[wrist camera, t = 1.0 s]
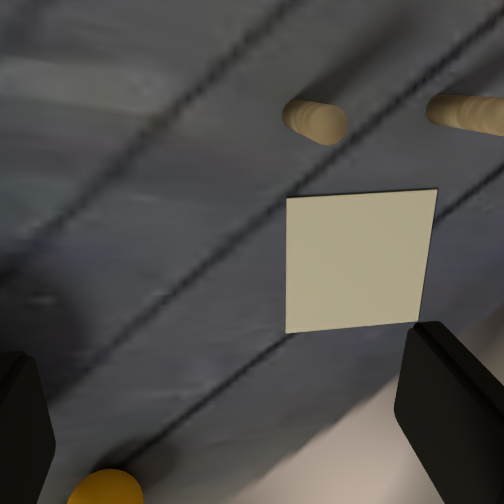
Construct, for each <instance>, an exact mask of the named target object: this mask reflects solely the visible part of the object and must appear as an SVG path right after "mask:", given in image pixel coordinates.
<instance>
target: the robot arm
mask: <svg viewBox="0 0 504 504" xmlns="http://www.w3.org/2000/svg"><path fill="white" fill-rule="evenodd" d="M394 413H395V417H396V420H397V422H398V424H399V425H400V427H401V429H402V431H403V432H404V434H405V436H406V437H407V439H408V441H409V443H410V444H411V446H412V448H413V450H414V451H415V453H416V455H417V456H418V458H419V460H420V462H421V463H422V465H423V467H424V469H425V470H426V472H427V474H428V475H429V477H430V479H431V481H432V482H433V484H434V486H435V488H436V489H437V491H438V493H439V495H440V496H441V498H442V500H443V501H444V503H445V504H504V386H503V385H502V384H501V383H500V382H499V381H498V380H497V379H496V378H495V377H494V376H493V375H492V374H491V372H490V371H489V370H487V368H486V367H485V366H484V365H483V364H482V363H481V362H480V361H479V360H478V359H477V358H476V357H475V356H474V355H473V354H472V353H471V352H470V351H469V350H468V349H467V348H466V347H465V346H464V345H463V344H462V343H461V342H460V341H459V340H458V339H457V338H456V337H455V336H454V335H453V334H452V333H451V332H450V331H449V330H448V329H447V328H446V327H445V326H444V325H443V324H442V323H441V322H440V321H429V322H417V323H415V325H414V326H413V328H411V329H409V330H408V333H407V338H406V343H405V349H404V354H403V360H402V365H401V370H400V376H399V381H398V387H397V392H396V398H395V403H394ZM55 447H56V441H55V436H54V432H53V428H52V424H51V420H50V416H49V413H48V409H47V405H46V401H45V397H44V393H43V389H42V385H41V381H40V377H39V373H38V370H37V366H36V362H35V359H34V358H33V357H31V356H30V357H27V354H26V353H25V352H24V351H14V352H0V504H37V501H38V498H39V495H40V493H41V490H42V487H43V484H44V482H45V479H46V476H47V473H48V471H49V468H50V465H51V462H52V460H53V457H54V454H55Z"/></svg>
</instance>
